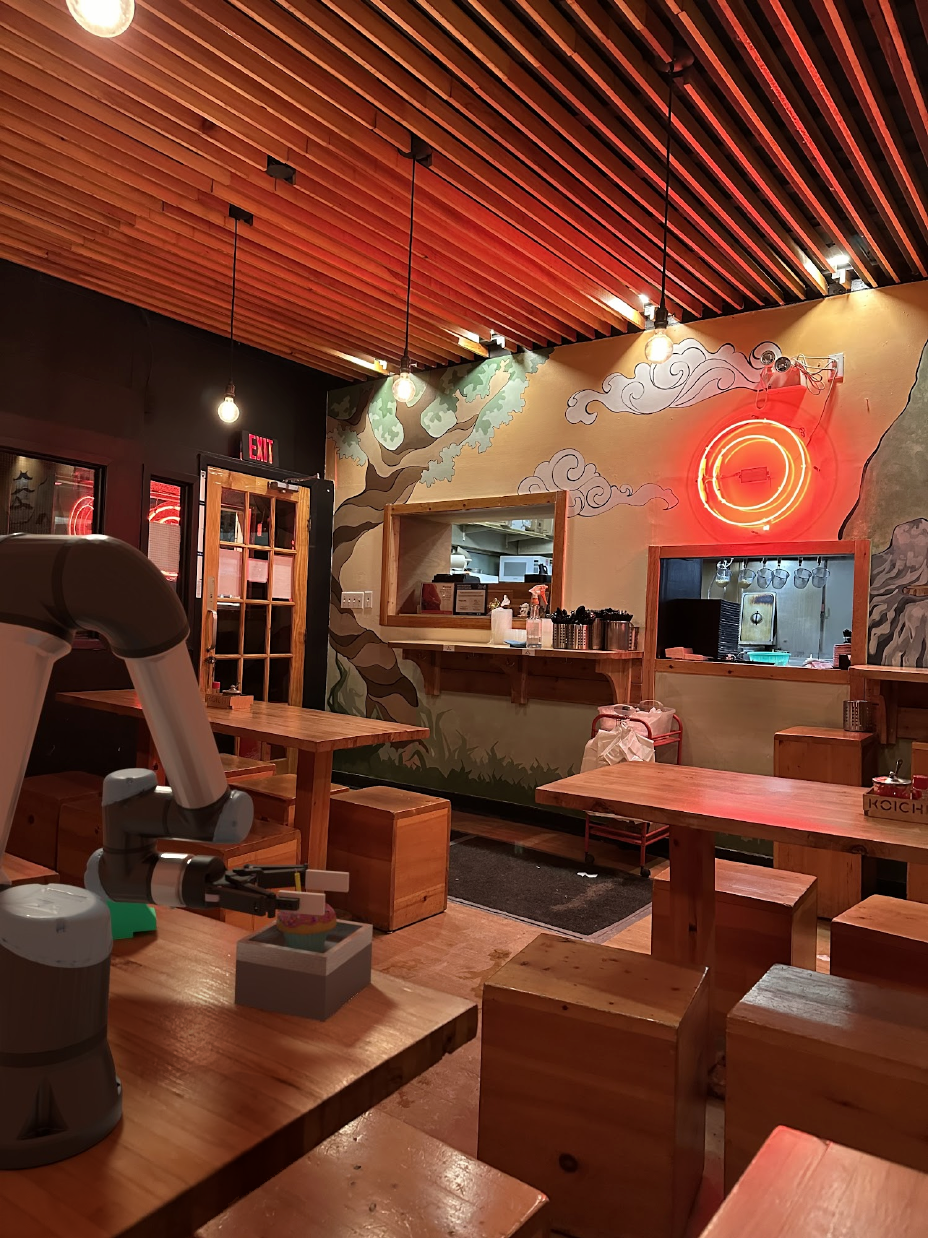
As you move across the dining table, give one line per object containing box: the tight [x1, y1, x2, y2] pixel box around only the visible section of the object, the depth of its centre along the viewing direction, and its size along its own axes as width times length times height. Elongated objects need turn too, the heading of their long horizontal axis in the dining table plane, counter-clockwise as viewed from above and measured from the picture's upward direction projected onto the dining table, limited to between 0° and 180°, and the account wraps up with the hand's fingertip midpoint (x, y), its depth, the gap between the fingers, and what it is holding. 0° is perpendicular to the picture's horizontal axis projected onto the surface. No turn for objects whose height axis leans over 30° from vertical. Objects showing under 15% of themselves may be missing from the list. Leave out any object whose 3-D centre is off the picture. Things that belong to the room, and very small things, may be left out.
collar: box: [235, 918, 374, 976], centre depth 122 cm, size 14×14×2 cm
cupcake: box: [275, 868, 338, 953], centre depth 122 cm, size 9×8×12 cm
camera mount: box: [104, 900, 158, 940], centre depth 144 cm, size 12×8×10 cm, turn 113°
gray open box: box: [234, 936, 373, 1023], centre depth 121 cm, size 14×14×6 cm
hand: (336, 893), depth 121 cm, fingers open, 10 cm apart
